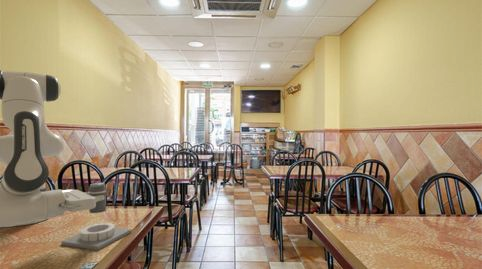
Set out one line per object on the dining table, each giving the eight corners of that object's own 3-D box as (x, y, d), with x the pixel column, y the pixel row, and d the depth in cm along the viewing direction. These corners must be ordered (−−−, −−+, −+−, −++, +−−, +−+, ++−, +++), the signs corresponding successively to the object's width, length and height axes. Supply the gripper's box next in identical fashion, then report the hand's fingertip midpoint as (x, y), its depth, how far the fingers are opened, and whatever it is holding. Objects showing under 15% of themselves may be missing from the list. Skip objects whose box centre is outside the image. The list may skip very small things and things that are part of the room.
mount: (61, 244, 90) (61, 234, 90) (98, 228, 105) (98, 219, 105) (97, 250, 85) (97, 239, 85) (131, 232, 101) (131, 222, 100)
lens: (85, 212, 93) (85, 185, 93) (98, 208, 98) (97, 182, 98) (97, 213, 92) (97, 185, 92) (109, 209, 97) (109, 182, 97)
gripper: (64, 198, 78) (111, 191, 89) (48, 189, 92) (90, 183, 102) (64, 219, 78) (111, 209, 89) (48, 207, 92) (90, 199, 102)
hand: (100, 195), depth 96 cm, fingers closed on lens, 5 cm apart
